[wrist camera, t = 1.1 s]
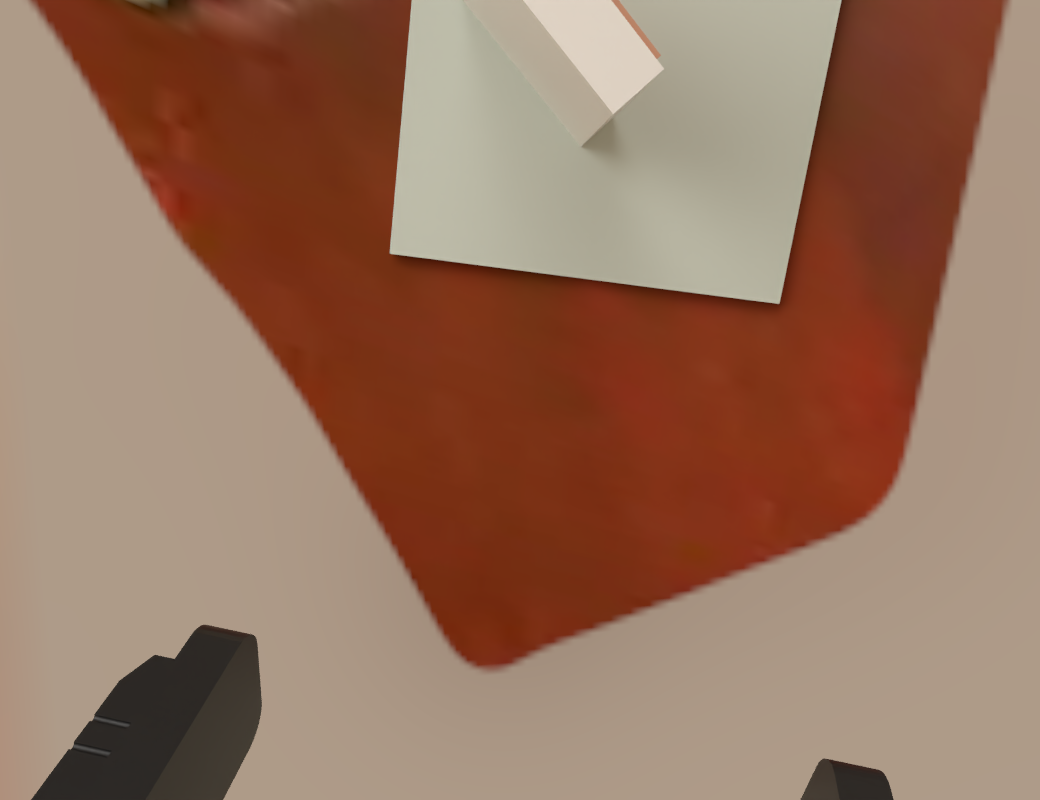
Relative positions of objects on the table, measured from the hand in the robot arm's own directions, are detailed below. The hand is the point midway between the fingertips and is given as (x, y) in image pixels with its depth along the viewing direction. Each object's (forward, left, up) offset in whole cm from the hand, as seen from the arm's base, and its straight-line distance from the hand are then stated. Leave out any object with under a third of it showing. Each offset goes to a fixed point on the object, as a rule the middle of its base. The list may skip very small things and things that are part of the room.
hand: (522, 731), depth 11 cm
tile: (-1, +13, -23) cm, 26 cm away
